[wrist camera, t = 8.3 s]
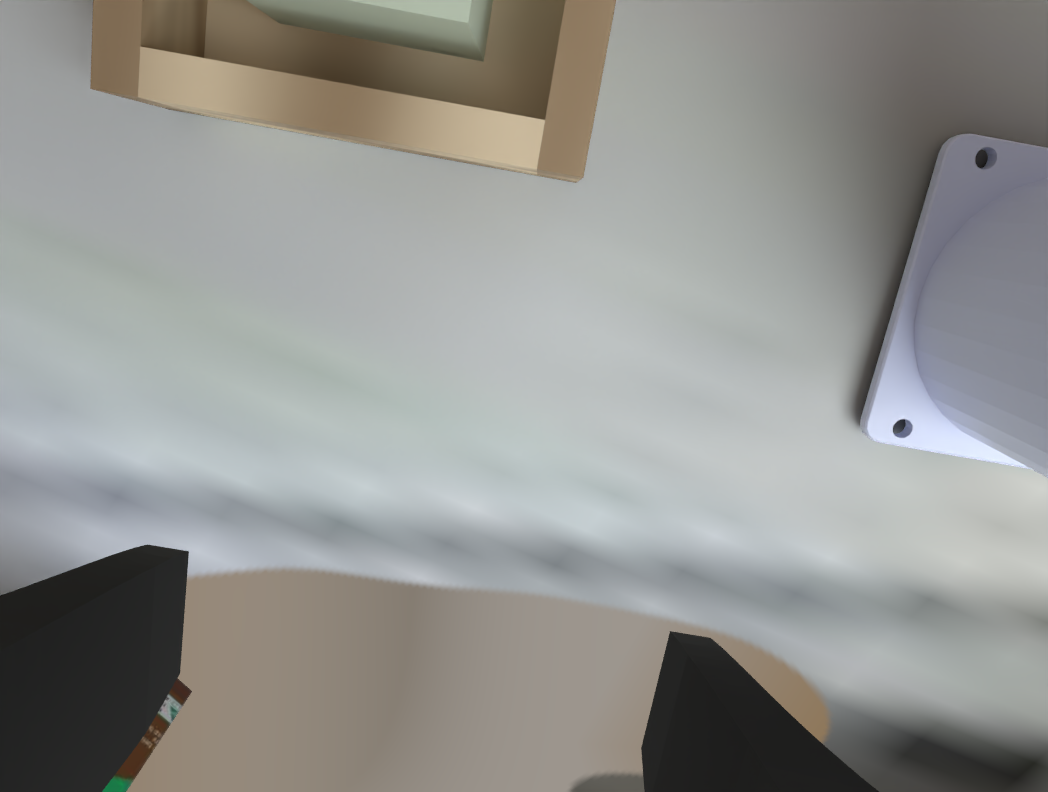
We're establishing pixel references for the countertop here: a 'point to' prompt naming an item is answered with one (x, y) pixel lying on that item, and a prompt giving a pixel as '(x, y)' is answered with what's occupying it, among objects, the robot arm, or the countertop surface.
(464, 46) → the sage crate
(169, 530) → the countertop surface
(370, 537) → the countertop surface
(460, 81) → the box
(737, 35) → the countertop surface
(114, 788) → the food container
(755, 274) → the countertop surface
